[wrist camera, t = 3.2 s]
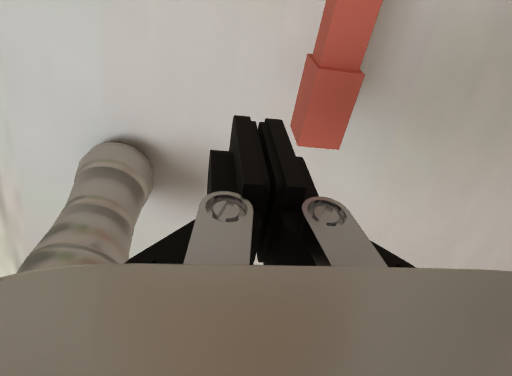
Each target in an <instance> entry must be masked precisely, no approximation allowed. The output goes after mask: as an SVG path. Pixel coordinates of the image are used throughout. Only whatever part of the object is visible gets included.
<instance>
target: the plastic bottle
mask: <svg viewBox="0 0 512 376" xmlns="http://www.w3.org/2000/svg"><path fill="white" fill-rule="evenodd" d="M152 189H153V169H152V167H151V164H150V162H149V161H148V159H147V158H146V157H145V156H144V155H143V154H142V153H141V152H140V151H138V150H137V149H136V148H134V147H132V146H130V145H127V144H123V143H118V142H107V143H102V144H99V145H97V146H95V147H93V148H92V149H91V150H90V151H89V152H88V153H87V154H86V155H85V156H84V157H82V159H81V161H80V162H79V165H78V168H77V171H76V175H75V180H74V185H73V188H72V190H71V193H70V195H69V198H68V201H67V203H66V206H65V207H64V209H63V210H62V212H61V213H60V215H59V217H58V218H57V220H56V221H55V223H54V224H53V226H52V228H51V229H50V230H49V231H48V232H47V234H46V235H45V236H44V237H43V238H42V240H41V241H40V242H39V243H38V245H37V246H36V247H35V248H34V249H33V251H32V252H31V253H30V255H29V256H28V257H27V258H26V259H25V261H24V262H23V264H22V265H21V267H20V268H19V270H18V271H17V273H20V272H24V271H30V270H36V269H42V268H49V267H56V266H68V265H80V264H124V263H125V262H126V261H128V260H129V251H130V246H131V241H132V236H133V231H134V227H135V224H136V222H137V219H138V217H139V214H140V212H141V209H142V207H143V206H144V204H145V203H146V201H147V200H148V197H149V195H150V193H151V191H152Z"/></svg>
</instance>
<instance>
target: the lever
mask: <svg viewBox="0 0 512 376" xmlns="http://www.w3.org/2000/svg"><path fill="white" fill-rule="evenodd" d="M382 1H383V0H326V4H325V8H324V12H323V16H322V20H321V24H320V28H319V32H318V36H317V40H316V44H315V48H314V52H313V54H307V58H306V62H305V66H304V70H303V75H302V79H301V83H300V87H299V91H298V95H297V100H296V104H295V108H294V112H293V116H292V121H291V125H290V126H291V129H292V132H293V134H294V137H295V140H296V142H297V145H298V146H303V147H315V148H326V149H337V150H339V148H340V145H341V142H342V139H343V136H344V133H345V130H346V128H347V125H348V122H349V119H350V116H351V113H352V110H353V108H354V105H355V102H356V99H357V96H358V93H359V90H360V88H361V85H362V82H363V79H364V76H365V74H364V73H363V72H362V71H361V70H360V66H361V63H362V60H363V57H364V54H365V52H366V49H367V46H368V43H369V40H370V37H371V34H372V31H373V28H374V25H375V22H376V19H377V16H378V13H379V10H380V7H381V4H382Z"/></svg>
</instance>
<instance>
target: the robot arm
mask: <svg viewBox="0 0 512 376" xmlns="http://www.w3.org/2000/svg"><path fill="white" fill-rule="evenodd" d="M256 252H257V259H258V262H263V263H264V265H253V263H254V260H255V256H256ZM0 376H512V271H500V270H482V269H443V268H416V267H414V266H413V265H411V264H410V263H408V262H406V261H404V260H403V259H401V258H399V257H398V256H396V255H394V254H392V253H391V252H389V251H387V250H386V249H384V248H382V247H380V246H379V245H377V244H375V243H374V242H372V241H370V240H369V239H368V237H367V236H366V234H365V233H364V231H363V230H362V229H361V227H360V226H359V224H358V223H357V221H356V220H355V219H354V217H353V216H352V214H351V213H350V211H349V210H348V209H347V208H346V207H345V206H344V205H342V204H341V203H339V202H338V201H335V200H333V199H331V198H327V197H319V196H318V193H317V191H316V188H315V186H314V183H313V181H312V178H311V176H310V174H309V171H308V169H307V166H306V164H305V161H304V159H303V158H302V157H296V156H295V153H294V150H293V148H292V145H291V142H290V140H289V137H288V135H287V132H286V129H285V127H284V124H283V121H282V120H278V119H268V118H266V119H265V122H260V123H259V126H258V129H257V125H256V121H251V119H250V117H247V116H237V115H234V117H233V124H232V132H231V140H230V148H229V151H217V150H210V158H209V169H208V185H207V196H205V197H204V198H203V199H202V201H201V203H200V205H199V209H198V212H197V216H196V219H195V220H193V221H192V222H190V223H188V224H187V225H185V226H183V227H182V228H180V229H178V230H177V231H175V232H173V233H172V234H170V235H168V236H167V237H165V238H164V239H162V240H160V241H159V242H157V243H155V244H154V245H152V246H150V247H149V248H147V249H145V250H144V251H142V252H140V253H139V254H137V255H136V256H134V257H132V258H131V259H129V260H128V261H126V262H125V263H124V264H80V265H68V266H56V267H49V268H42V269H36V270H30V271H24V272H20V273H16V274H12V275H8V276H5V277H1V278H0Z"/></svg>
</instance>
